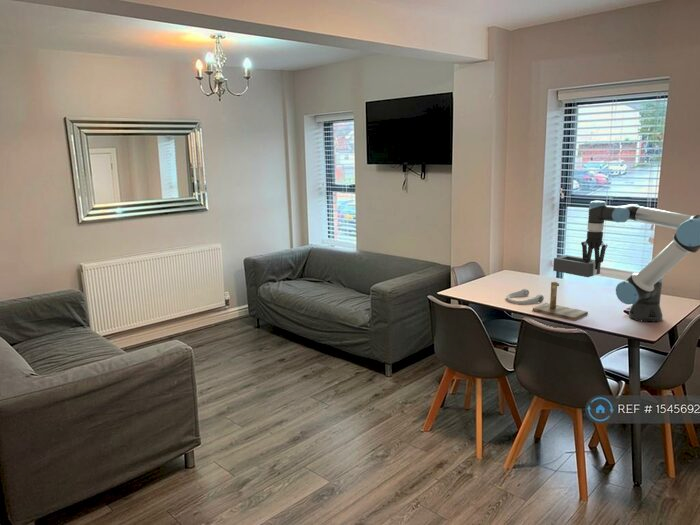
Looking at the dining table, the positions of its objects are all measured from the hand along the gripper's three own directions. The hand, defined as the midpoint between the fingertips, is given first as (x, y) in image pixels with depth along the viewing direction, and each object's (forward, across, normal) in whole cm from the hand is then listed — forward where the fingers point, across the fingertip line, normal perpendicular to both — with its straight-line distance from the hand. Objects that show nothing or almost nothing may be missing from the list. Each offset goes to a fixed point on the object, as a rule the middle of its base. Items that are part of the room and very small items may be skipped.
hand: (591, 274), depth 276 cm
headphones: (+22, +37, +6) cm, 43 cm away
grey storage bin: (0, +9, 0) cm, 9 cm away
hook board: (+21, +10, +12) cm, 26 cm away
